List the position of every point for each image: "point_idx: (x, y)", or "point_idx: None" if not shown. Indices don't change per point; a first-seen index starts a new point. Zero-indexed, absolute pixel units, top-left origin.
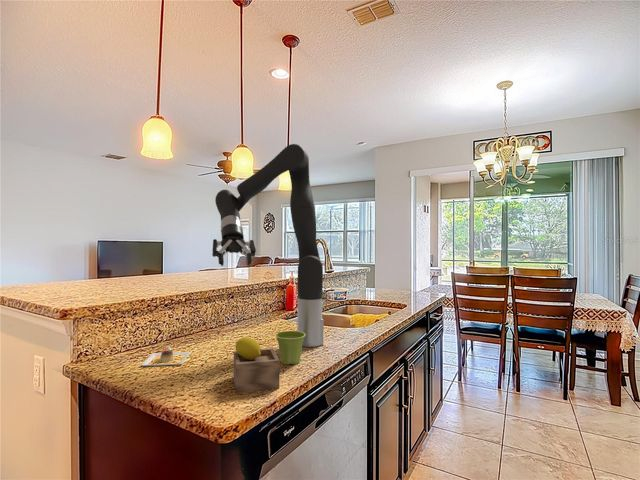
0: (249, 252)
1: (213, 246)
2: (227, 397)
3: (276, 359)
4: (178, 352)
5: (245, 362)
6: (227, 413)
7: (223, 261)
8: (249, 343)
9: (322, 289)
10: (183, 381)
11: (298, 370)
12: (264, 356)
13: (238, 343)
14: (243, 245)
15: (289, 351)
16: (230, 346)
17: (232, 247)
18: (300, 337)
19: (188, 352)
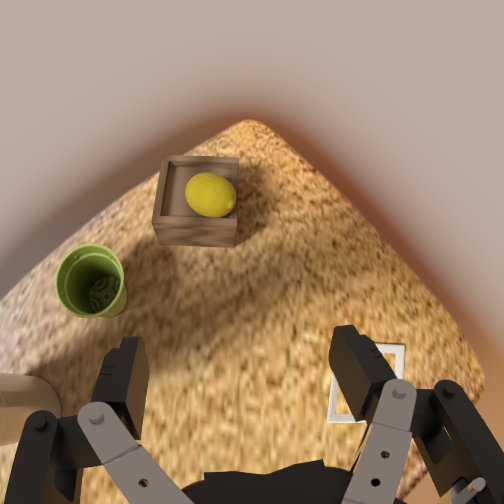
0: (95, 410)
1: (482, 425)
2: (248, 175)
3: (166, 160)
4: (351, 421)
5: (222, 160)
6: (249, 139)
7: (338, 326)
8: (210, 173)
9: None
10: (319, 253)
11: (111, 244)
12: (175, 213)
13: (231, 185)
14: (139, 489)
15: (109, 264)
16: (228, 460)
17: (294, 478)
18: (77, 247)
19: (330, 419)
